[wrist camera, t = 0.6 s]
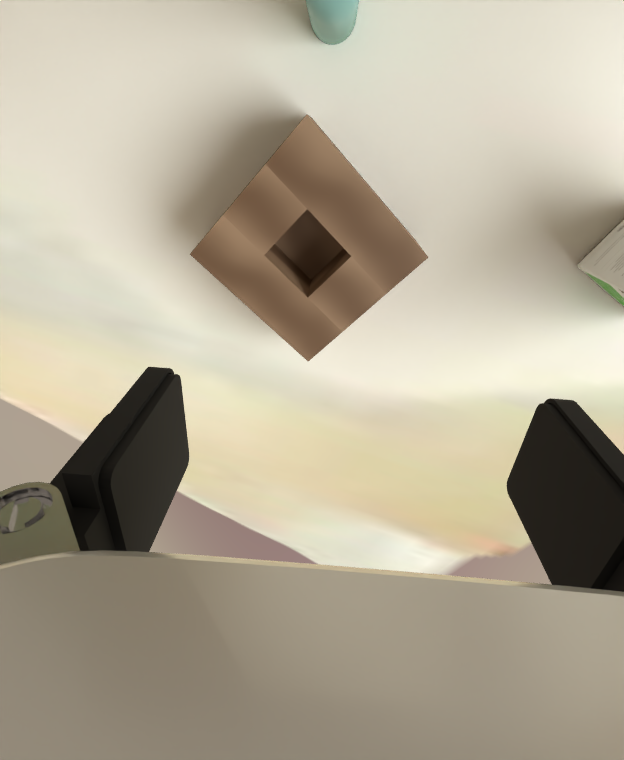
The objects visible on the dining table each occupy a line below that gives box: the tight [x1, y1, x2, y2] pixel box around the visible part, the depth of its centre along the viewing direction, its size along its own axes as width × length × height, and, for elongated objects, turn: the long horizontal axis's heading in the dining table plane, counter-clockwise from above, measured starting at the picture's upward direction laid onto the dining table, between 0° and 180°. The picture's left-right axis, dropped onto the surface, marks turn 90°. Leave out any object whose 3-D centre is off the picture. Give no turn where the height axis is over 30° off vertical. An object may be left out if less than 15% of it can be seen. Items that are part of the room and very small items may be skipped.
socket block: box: [190, 115, 428, 361], centre depth 32 cm, size 12×12×6 cm
